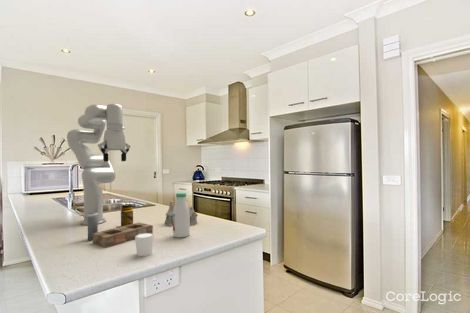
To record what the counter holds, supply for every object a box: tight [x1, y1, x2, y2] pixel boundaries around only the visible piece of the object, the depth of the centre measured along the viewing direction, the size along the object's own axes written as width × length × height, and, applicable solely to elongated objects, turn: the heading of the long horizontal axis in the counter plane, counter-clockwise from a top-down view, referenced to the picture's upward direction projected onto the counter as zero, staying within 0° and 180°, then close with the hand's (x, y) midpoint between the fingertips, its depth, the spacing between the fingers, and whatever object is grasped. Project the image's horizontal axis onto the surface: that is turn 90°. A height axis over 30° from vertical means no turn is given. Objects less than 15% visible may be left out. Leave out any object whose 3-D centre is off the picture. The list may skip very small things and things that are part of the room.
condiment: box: [115, 203, 134, 228], centre depth 137 cm, size 7×8×12 cm
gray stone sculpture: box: [163, 200, 199, 227], centre depth 144 cm, size 16×16×15 cm
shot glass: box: [134, 233, 155, 257], centre depth 99 cm, size 7×7×7 cm
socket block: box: [92, 222, 154, 248], centre depth 118 cm, size 11×23×4 cm, turn 146°
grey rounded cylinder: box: [87, 212, 99, 242], centre depth 117 cm, size 4×4×12 cm
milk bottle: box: [172, 192, 191, 238], centre depth 121 cm, size 8×8×20 cm
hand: (115, 161), depth 132 cm, fingers open, 9 cm apart
